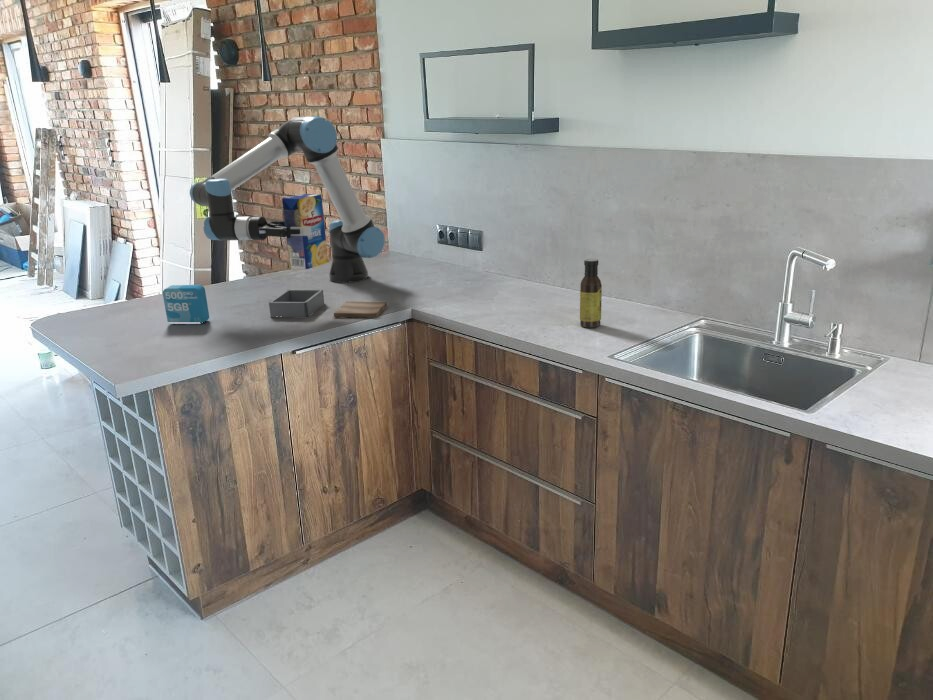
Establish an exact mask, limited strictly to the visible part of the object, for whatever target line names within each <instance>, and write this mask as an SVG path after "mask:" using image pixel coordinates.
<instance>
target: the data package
mask: <svg viewBox="0 0 933 700" xmlns="http://www.w3.org/2000/svg"><path fill="white" fill-rule="evenodd" d="M162 297H163V298H162V299H163V303H164V309H165V314H166V319H167V323H168V322H200V323H202V322H204V323H205V321H206V320H207V321H208V320H209V319H210V312H209V305H208V301H207V293H206V289H205V287H204V286H203V285H202V284H181V285H180V284H175V285H174V284H173V285H172V284H171V285H169V286H168V287H166V288H164V289H163V290H162ZM207 321H206V322H207Z"/></svg>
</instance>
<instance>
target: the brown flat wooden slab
mask: <svg viewBox="0 0 933 700" xmlns="http://www.w3.org/2000/svg"><path fill="white" fill-rule="evenodd" d="M387 305H388V302H387V301H345V302H344V303H343V304H341V306H340V307H339V308H337V310H335V311H334V312H333V317H375V318H374V319H377V318H378V317H379V316H380V315H379V314H382V312H383V311H384V310H385V309H386V308H385V307H386V306H387ZM387 307H388V306H387ZM378 315H379V316H378ZM377 316H378V317H377Z"/></svg>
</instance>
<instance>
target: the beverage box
mask: <svg viewBox="0 0 933 700" xmlns="http://www.w3.org/2000/svg"><path fill="white" fill-rule="evenodd" d="M281 202H282V210H283V217H284V218H283V219H284V220H283V221H285V227H288V228H289V229H290V227H311V232H312V235H311V236H291V234H290V238H287V236H286V245H287V246H286V247H287V254H288V261H289V268H290V269H297V270H298V269H299V270H310V269H312V268H316V267H318V266H321V265H325V264H327V263H329V258H328V256H329V255H328V248H327V236H326V228H325V216H324V206H323V196H322V194H321V193H320V194H316V193H314V194H313V193H303V194H297V195H292V196H287V197H286V196H285V197H282V198H281ZM302 231H303V229H302Z"/></svg>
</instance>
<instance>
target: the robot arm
mask: <svg viewBox="0 0 933 700" xmlns="http://www.w3.org/2000/svg"><path fill="white" fill-rule="evenodd" d="M337 139H338V134H337V130H336V127H335V126H334V124H333V123H332V121H330V120H329V119H327V118H324V117H323V116H317V115H310V116H295V117H293V118H290V119H288V120H287V121H286V122H284V123H283V124H281V125H280V126H278V127H277V128H276V129H274V130H273V131H271V132H270V133H269V134H268V135H267V138H266V139H265V140H263V141H262V142H260V143H259V144H257V145H256V146H254V147H253V148H251V149H250V150H248V151H246V152H245V153H243V154H242V155H241V156H240V157H237V158H236V159H235V160H234V161H232V162H230V163H229V164H227V165H225V167H223V168H221V169H220V170H219V171H217V172H216V173H214V174H212V175H211V176H209V177H208V178H206V179H205V180H204V181H203V180H202V181H199V182H194V183H193V184H192V185H191V186H190V190H189V197H190V198H191V200H192V201H193V203H195V204H197V205H199V206H201V207H206V208H207V207H208V209H209V216H208V217H206V218H205V220H204V221H203V225H204V226H203V232H204V235H205V237H206V238H207V239H209V240H211V241H220V242H223V241H244V243H247V242H248V241H265V240H266V239H267V237H277V238H278V237H279V238H285V237H286V236H287V237H286V239H287V238H290V234H291V236H311V235H312V232H311V227H290V229H289V228H288V227H285V220H281V221H279V220H275V221H274V220H271V221H270V222H268V221H267V219H266V218H265V217H263V216H249V215H248V216H235V209H234V203H233V202H234V201H233V193H232V192H233V191H234V190H235V189H237V188H238V187H240V186H241V185H243V184H244V183H246V182H247V181H249V180H250V179H251V178H253V177H255V176H257V174H259V173H260V172H261V171H263V170H265V169H266V168H268V167H269V166H271V165H273V163H275V162H277V161H278V160H279V159H281V158H285V159H286V158H287V157H289V156H290V155H292V154H295V153H299V152H302V154H303V156H304V158H305V160H306V161H307V163H309V164H311V165H313V166H314V168H315V170H316V171H317V174H318V176H319V178H320V181H321V182H322V184H323V186H324V188H325V189H326V190H325V191H326V192H327V194H328V196H329V198H330V200H331V202H332V204H333V205H334V209H335V210H336V212H337V214H338V216H339V218H340V219H339V220H333V221H331V222H330V223H329V224H328V225H329V226H328V227H329V231H328V233H329V240H330V249H331V264H330V270H329V273H328V276H329V281H331V282H335V283H355V281H356V282H360V280H361V281H364V280H366V278H367V277H368V278H369V270H368V269H367V266H366V263H365V261H364V258H365V259H373V258H376V257H377V256H379V255H380V254H381V253H382V251H383V250H384V246H385V244H386V236H385V233H384V232H383V230H382V229H381V228H379V227H377V226H375V224H374V222H373V220H372V218H371V216H370V215H368V214H365V212H364V210H363V208H362V205H361V204H360V201H359V200H358V197H357V195H356V194H355V191H354V189H353V187H352V184H351V183H350V181H349V178H348V176H347V174H346V172H345V170H344V168H343V166H342V164H341V162H340V159H339V157H338V152H339V146H338V145H337ZM302 229H303V231H302ZM368 278H367V279H368ZM363 279H364V280H363Z"/></svg>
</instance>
